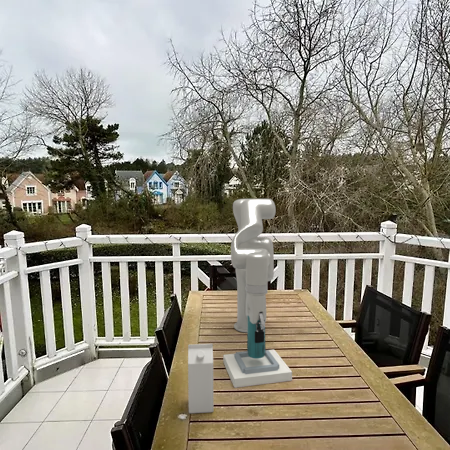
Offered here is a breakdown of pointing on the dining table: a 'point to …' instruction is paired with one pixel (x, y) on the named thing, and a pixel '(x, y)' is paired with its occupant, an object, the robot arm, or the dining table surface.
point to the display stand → (256, 369)
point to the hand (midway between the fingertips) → (256, 337)
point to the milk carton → (200, 378)
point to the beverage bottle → (254, 348)
